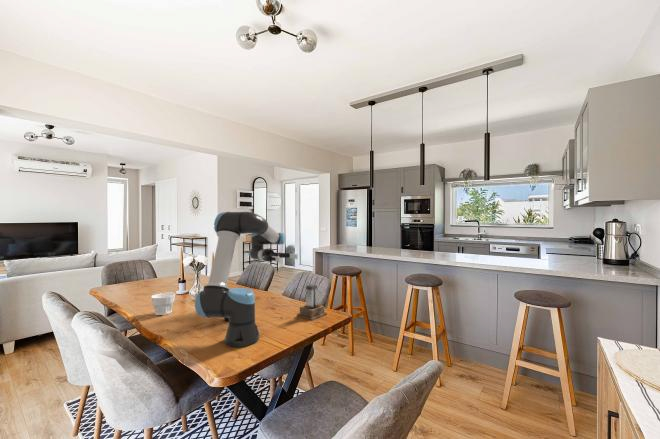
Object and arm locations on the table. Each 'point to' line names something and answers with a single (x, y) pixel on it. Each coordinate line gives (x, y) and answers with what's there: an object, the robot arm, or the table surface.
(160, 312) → the cup
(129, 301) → the table surface
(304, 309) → the box
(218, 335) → the table surface
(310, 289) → the steel tongs
